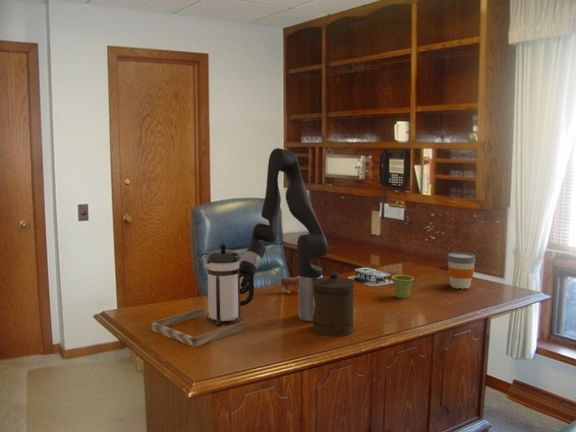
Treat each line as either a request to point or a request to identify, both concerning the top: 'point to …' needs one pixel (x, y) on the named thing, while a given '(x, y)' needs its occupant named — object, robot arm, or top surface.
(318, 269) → the robot arm
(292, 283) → the bull figurine
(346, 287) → the wooden container
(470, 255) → the reusable coffee cup
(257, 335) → the top surface
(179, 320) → the birch stand
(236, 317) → the coffee press
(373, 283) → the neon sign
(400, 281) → the plant pot
